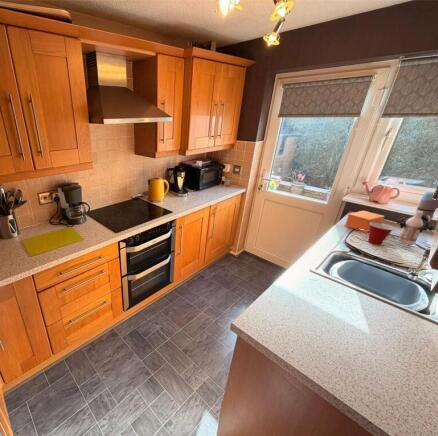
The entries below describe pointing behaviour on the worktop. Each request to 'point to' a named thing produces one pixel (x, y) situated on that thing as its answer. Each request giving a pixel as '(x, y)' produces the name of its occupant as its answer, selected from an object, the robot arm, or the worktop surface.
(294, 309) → the worktop surface
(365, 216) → the lid
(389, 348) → the worktop surface
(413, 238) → the bath foam
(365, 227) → the box
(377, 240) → the plastic cup
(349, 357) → the worktop surface
